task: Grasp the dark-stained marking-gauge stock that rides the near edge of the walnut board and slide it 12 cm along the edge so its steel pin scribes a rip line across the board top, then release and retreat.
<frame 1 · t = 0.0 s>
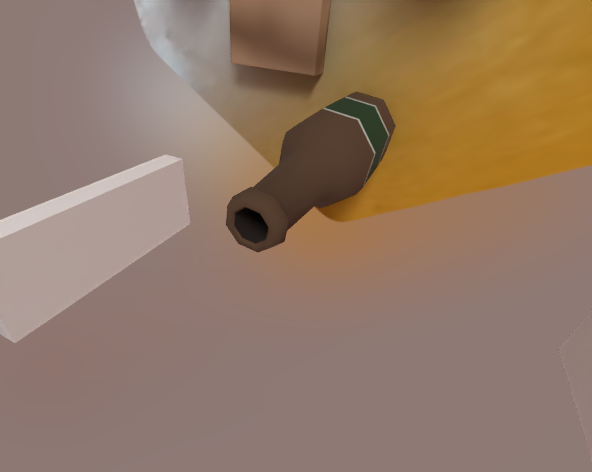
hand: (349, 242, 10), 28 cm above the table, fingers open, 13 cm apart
beer bottle: (361, 127, 36), on the table
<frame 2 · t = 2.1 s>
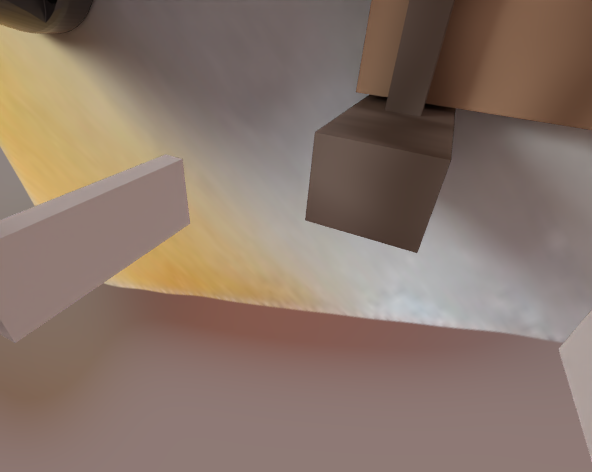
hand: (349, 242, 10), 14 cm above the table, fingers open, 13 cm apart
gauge: (417, 45, 14), point 5 cm above the table, slide at 0.0 cm
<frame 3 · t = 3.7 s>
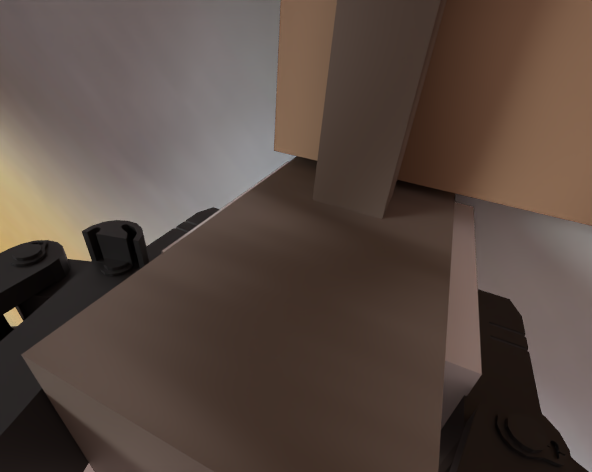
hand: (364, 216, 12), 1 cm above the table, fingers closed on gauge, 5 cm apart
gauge: (358, 80, 6), point 5 cm above the table, slide at 0.0 cm, touching gripper
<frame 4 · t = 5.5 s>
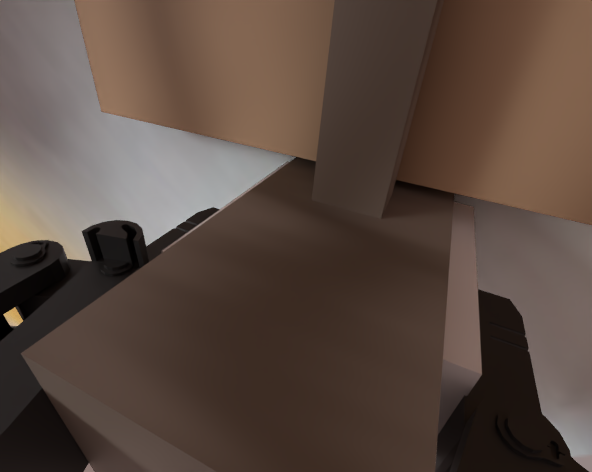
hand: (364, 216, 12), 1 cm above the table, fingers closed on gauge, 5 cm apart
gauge: (356, 81, 6), point 5 cm above the table, slide at 7.5 cm, touching gripper
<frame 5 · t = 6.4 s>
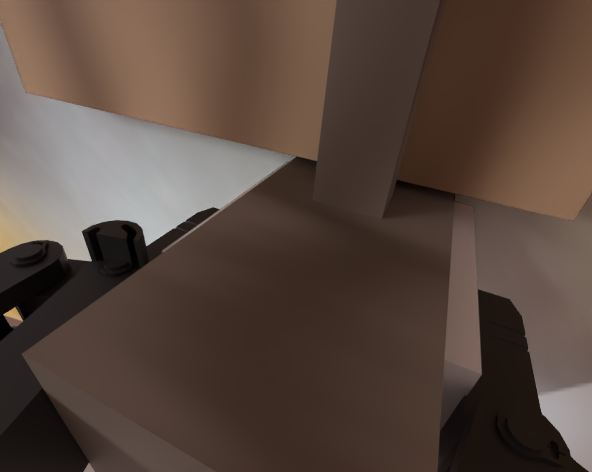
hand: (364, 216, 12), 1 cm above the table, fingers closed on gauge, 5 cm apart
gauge: (358, 81, 6), point 5 cm above the table, slide at 11.9 cm, touching gripper
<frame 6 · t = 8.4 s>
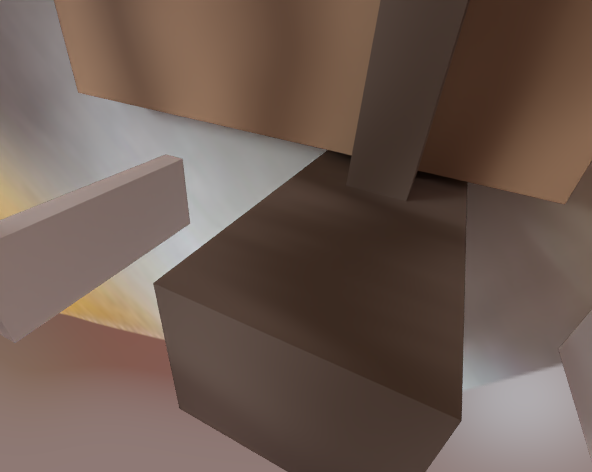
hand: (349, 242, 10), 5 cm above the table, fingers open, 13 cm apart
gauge: (395, 85, 7), point 5 cm above the table, slide at 12.0 cm
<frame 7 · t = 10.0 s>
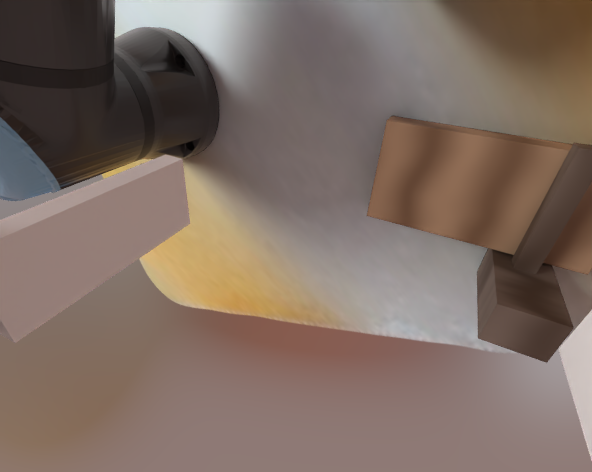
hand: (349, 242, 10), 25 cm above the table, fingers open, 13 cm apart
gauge: (542, 249, 26), point 5 cm above the table, slide at 12.0 cm
board: (484, 186, 31), on the table
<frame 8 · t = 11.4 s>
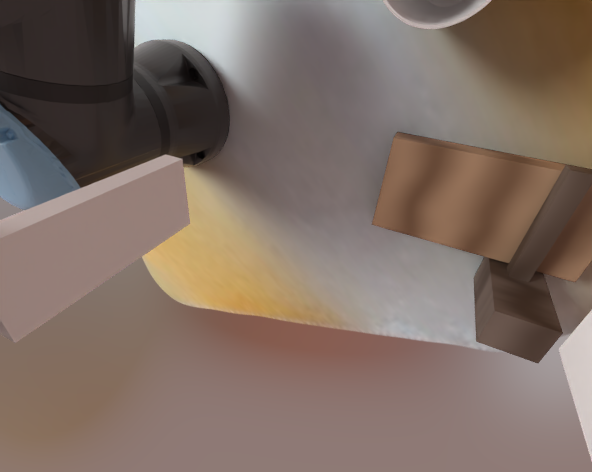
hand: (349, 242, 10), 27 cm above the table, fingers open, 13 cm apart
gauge: (535, 260, 29), point 5 cm above the table, slide at 12.0 cm
board: (482, 199, 33), on the table
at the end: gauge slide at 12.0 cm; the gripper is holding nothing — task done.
